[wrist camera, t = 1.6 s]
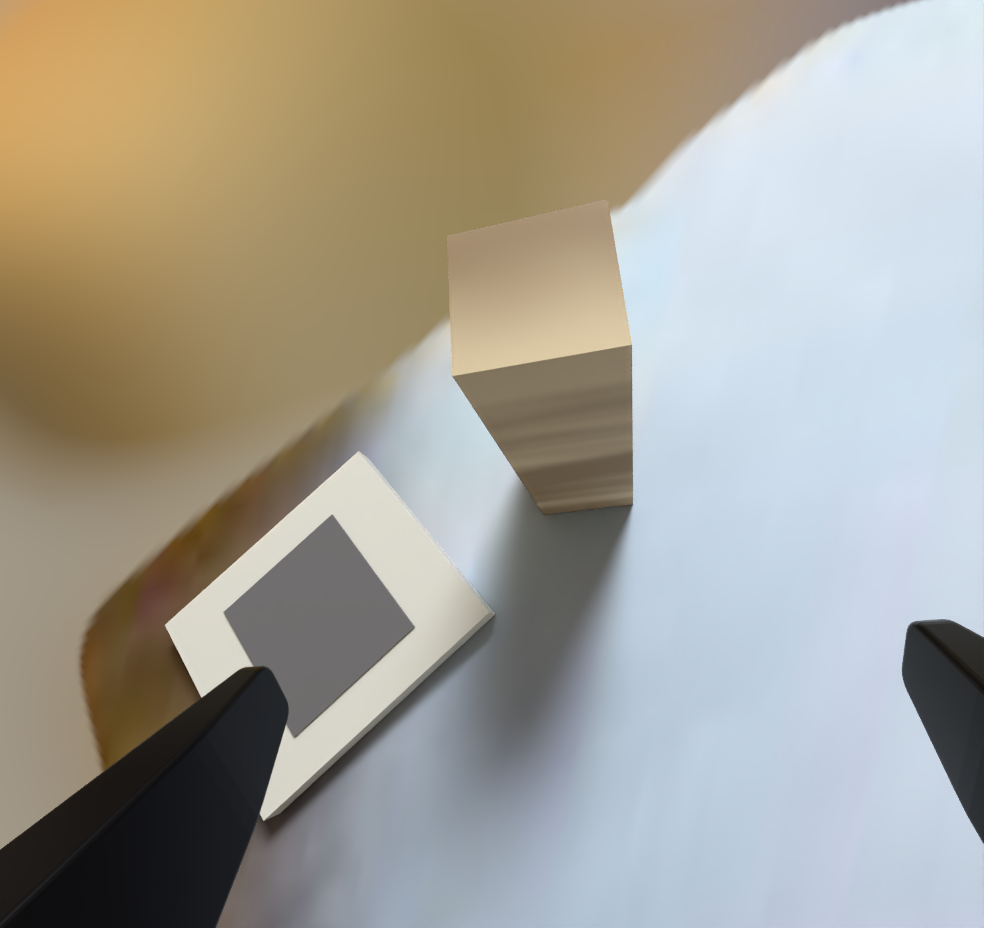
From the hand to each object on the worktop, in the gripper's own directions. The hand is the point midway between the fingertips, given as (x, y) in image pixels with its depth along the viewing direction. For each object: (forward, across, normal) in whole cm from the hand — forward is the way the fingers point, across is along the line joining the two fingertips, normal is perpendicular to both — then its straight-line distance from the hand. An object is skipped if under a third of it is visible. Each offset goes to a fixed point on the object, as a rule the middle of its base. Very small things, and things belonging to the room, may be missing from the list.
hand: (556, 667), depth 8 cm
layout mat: (+11, +11, +8) cm, 17 cm away
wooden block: (+14, 0, +4) cm, 15 cm away
